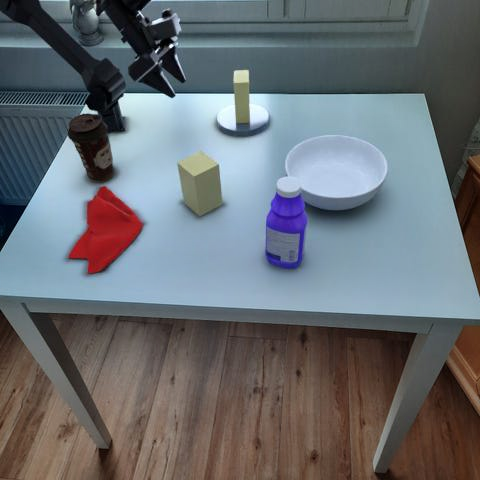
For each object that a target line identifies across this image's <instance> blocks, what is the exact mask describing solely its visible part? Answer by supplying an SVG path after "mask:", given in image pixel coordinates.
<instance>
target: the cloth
mask: <svg viewBox="0 0 480 480" xmlns="http://www.w3.org/2000/svg"><path fill="white" fill-rule="evenodd" d="M86 224H87V226H88V227H87V228H86V230H85V231H84V233H83V234H82V235H81V236H80V238H79V239H77V241H76V242H75V244H74V246H73V247H72V248H71V250H70V252H69V254H68V256H67V258H68V259H83V260H87V262H88V264H87V270H86V274H89V275H91V274H96V273H99V272H101V271H102V270H106V269H107V267H108V266H109V265H110V264H111V263H112V262H113V261H114V260H116V259H117V257H118V256H120V255H121V254H122V253H123V252H124V251H125V250H126V249H127V248H128V247H129V246H130V244H131V243H132V242H133V241H134V240H135V239H136V237H137V236H138V235H139V233H140V232H141V230H142V228H143V225H144V222H143V221H141V220H140V218H139V217H138V215H137V214H136V213H135V211H134V210H133V209H132V208H131V207H130V206H128V205H127V204H126V203H125V202H124V201H123V200H122V199H121V198H119V196H116V194H115V193H114V192H113V191H111V190H110V189H109V188H108V187H107V185H103V186H100V187H99V188H98V189H97V193H96V194H94V195H93V198H92V199H91V200H88V201H87V202H86Z"/></svg>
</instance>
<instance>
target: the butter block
mask: <svg viewBox="0 0 480 480" xmlns="http://www.w3.org/2000/svg"><path fill="white" fill-rule="evenodd" d="M176 163H177V164H176V165H177V170H178V176H179V182H180V187H181V195H182V198H183V204H185V205H186V206H187V207H188V208H189V209H190V210H192V211H193V212H194V213H195V214H196V215H197V216H199V217H202V216H204V215H206V214H208V213H210V212H211V211H213V210H215V209H217V208H220V207H221V206H223V204H224V203H223V194H222V193H223V192H222V184H221V181H222V180H221V173H220V171H221V170H220V163H218V162H217V161H215V159H213V158H212V157H210V156H209V155H208V154H207V153H205V152H204V151H203V150H201V151H197V152H195V153H194V154H192V155H190V156H188V157H186V158H183V159H182V160H179V161H178V162H176Z"/></svg>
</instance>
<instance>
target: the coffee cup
mask: <svg viewBox="0 0 480 480" xmlns="http://www.w3.org/2000/svg"><path fill="white" fill-rule="evenodd" d="M67 129H68V130H67V137H68V139H69V140H70V141H71V142H72V143H73V145H74V148H75V150H76V151H77V153H78V155H79V158H80V160H81V163H82V165H83V168H84V169H85V172H86V177H87V178H88V179H89V180H90V181H91V182H93V183H104V182H107V181H109V180H111V179H112V178H113V177H114V176H115V174H116V170H115V168H114V164H113V163H114V158H113V153H112V147H111V141H110V137H109V135H108V134H109V133H107V130H108V129H107V125H106V124H105V123H104V122H103V121H102V117H101V116H99V115H98V113H89V112H87V113H81V114H79V115H76V116H74V117H73V118H71V119H70V120H69V123H68V128H67Z"/></svg>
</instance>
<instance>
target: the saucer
mask: <svg viewBox="0 0 480 480" xmlns="http://www.w3.org/2000/svg"><path fill="white" fill-rule="evenodd" d="M216 122H217V127H218V129H219V130H220V131H221V132H222V133H224V134H226V135H228V136H232V137H238V138H239V137H241V138H242V137H251V136H255V135H258V134H260V133H262V132H263V131H265V130H266V129H267V127H268V126H269V124H270V123H269V122H270V115H269V112H268V111H267V109H266V108H265V107H263V106H261V105H258V104H254V103H250V123H236V117H235V103H234V104H231V105H228V106H225V107H224V108H222V109H221V110H220V111H219V112H218V114H217V117H216Z"/></svg>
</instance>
